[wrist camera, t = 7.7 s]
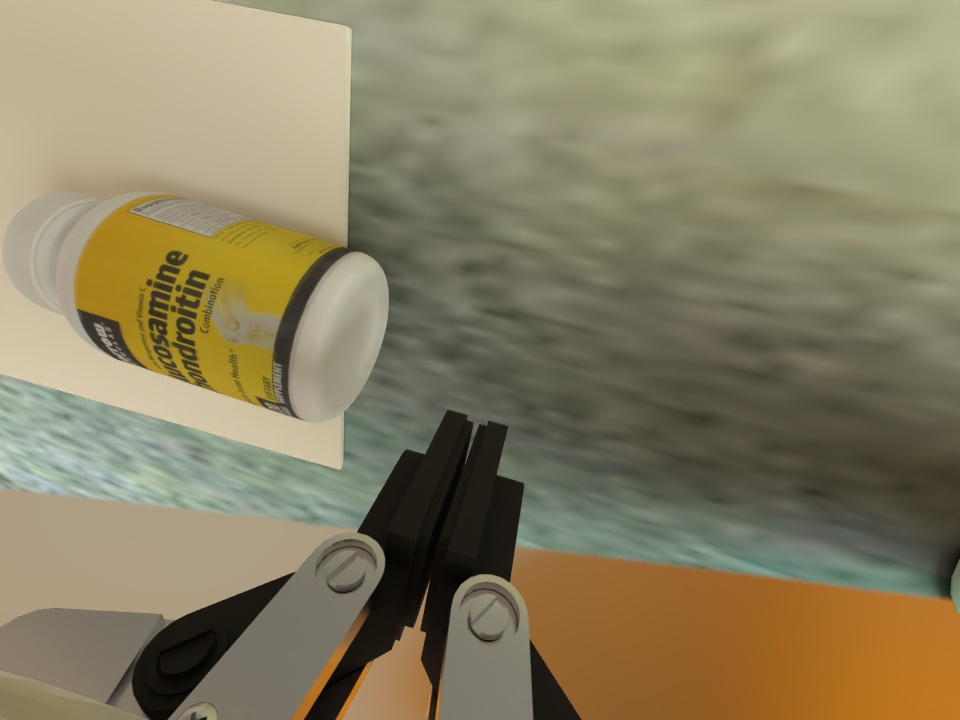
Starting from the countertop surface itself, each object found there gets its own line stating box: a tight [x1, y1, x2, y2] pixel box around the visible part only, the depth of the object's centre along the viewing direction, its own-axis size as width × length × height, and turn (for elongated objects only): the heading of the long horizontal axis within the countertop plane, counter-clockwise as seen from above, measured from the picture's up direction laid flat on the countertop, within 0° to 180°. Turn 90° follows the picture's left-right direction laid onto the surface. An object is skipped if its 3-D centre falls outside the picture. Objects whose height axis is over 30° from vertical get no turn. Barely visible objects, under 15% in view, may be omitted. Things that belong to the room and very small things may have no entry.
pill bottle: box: [2, 192, 389, 423], centre depth 15 cm, size 6×6×12 cm
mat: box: [0, 0, 352, 470], centre depth 19 cm, size 24×20×1 cm
